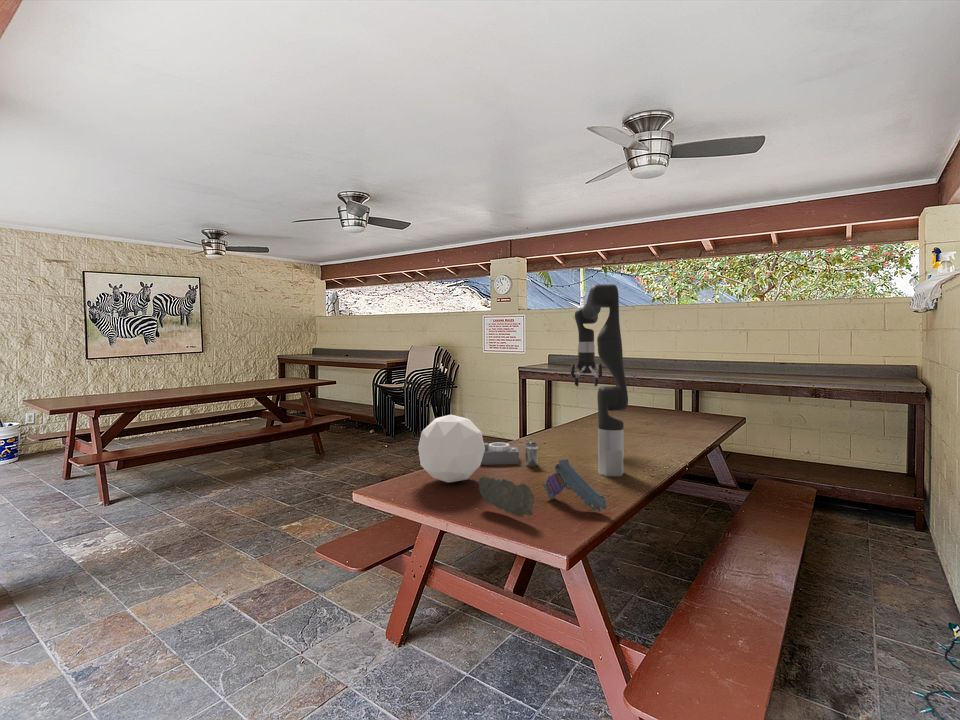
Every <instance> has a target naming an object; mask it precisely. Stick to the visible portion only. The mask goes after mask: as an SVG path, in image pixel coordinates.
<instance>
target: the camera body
mask: <svg viewBox="0 0 960 720" xmlns="http://www.w3.org/2000/svg"><path fill="white" fill-rule="evenodd" d="M484 446H485V451H484V455H483V458H482V461H481V464H480V466H481V465H484V466H486V465H487V466H488V465H519V464H520V451H519V448H518V447H519V446H510V443H509V442H508V443H507V442H501V441H500V442H499V441H497V442H491V443H489V442H484Z"/></svg>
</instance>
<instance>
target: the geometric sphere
mask: <svg viewBox="0 0 960 720" xmlns="http://www.w3.org/2000/svg"><path fill="white" fill-rule="evenodd" d="M484 443H485V442H484V438H483V433H482V430H480V429H479V428H478V427H477V426H476V425H475V424H474V422H472V421H471V419H469V418H466V417H462V416H458V415H454V414H447V415H443V416H439V417H436V418H434V419H433V420H432V421H431V422H430V423H429V424H428V425H426V427H425V428H424V429H423V430H422V431H421V433H420V438H419V442H418V447H417V450H418V455H419V462H420V467H421V468H423V469H424V470H425V471H426V472H427V473H428V474H429V475H430V476H431V477H432V478H433V479H435V480H439V481H441V482H444V483H455V482H459V481H466V480H468V479H469V478H470V477H471V476H472V475H473V474H474V473H475V472H476V470H477V469H478V468H479V467H480V466H481V465H480V464H481V461H482V458H483V455H484V451H485V446H484Z"/></svg>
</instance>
